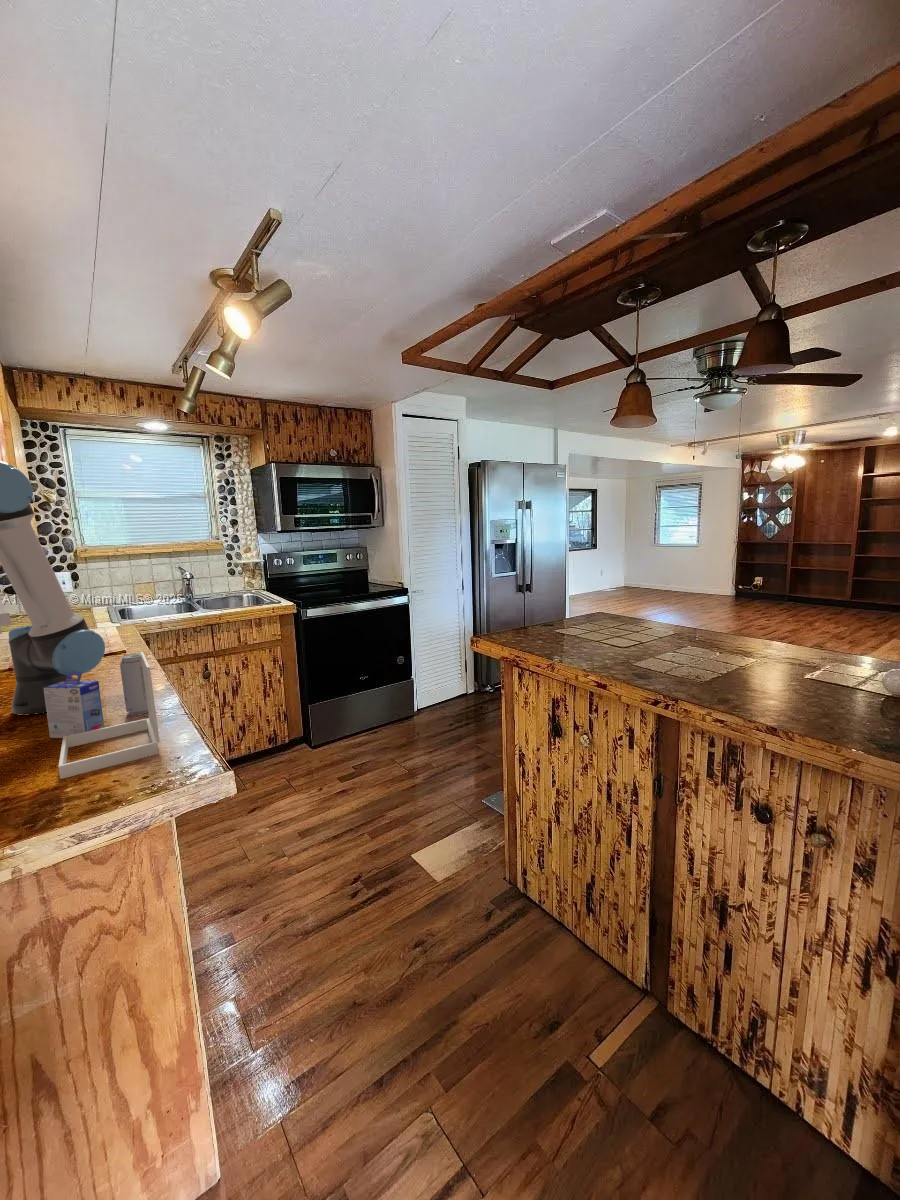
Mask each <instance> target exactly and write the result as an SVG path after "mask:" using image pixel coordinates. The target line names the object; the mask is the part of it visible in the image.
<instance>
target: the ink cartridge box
mask: <svg viewBox="0 0 900 1200" xmlns="http://www.w3.org/2000/svg"><path fill="white" fill-rule="evenodd" d="M70 676H72V677H73V676H77V678H74V679H70V678H69V677H70ZM82 676H83V674H82V672H69V673H68V675H67V677H66V680H65V681H64V682H59V683H56V684H52V685H49V686H47V687H44V696H45V704H46V711H47V713H46V718H47V725H48V731H49V732H48V733H49V738H50V739H63V737H64V736H69V735H73V734H78V733H82V732H87V731H91V730H96V729H101V728H105V722H104V721H105V720H104V714H103V713H104V712H103V705H102V699H101V698H102V697H101V691H100V689H101V688H100V683H99V680H81V679H82Z"/></svg>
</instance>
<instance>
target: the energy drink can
mask: <svg viewBox="0 0 900 1200" xmlns="http://www.w3.org/2000/svg"><path fill="white" fill-rule="evenodd" d="M146 660H147V662H148V663H149V661H148V659H147V658H146ZM119 663H120V664H119V668H120V674H121V683H122V689H123V696H124V697H123V698H124V705H125V712H126V713H128V714H129V715H130V716H140V715H139V714H141V715H145V714H148V713H147V712H148V707H147V699H146V692H145V684H144V677H143V669H142V661H141V654H140V653H131V654H127V655H126V654H125V655H123V656H121V662H119ZM144 713H145V714H144Z"/></svg>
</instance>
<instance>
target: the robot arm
mask: <svg viewBox="0 0 900 1200" xmlns="http://www.w3.org/2000/svg"><path fill="white" fill-rule="evenodd" d="M33 491H34V490H33V485H32V483H31V482H30V480H29V478H28V477H27V476H26V474H24V472H22V471H21V470H20V469H19V468H17V467H16V466H14V465H12V464H10V463H7V462H4V461H0V565H1V567H2V569H3V571H4V573H5V574H6V577H7V579H8V581H9V582H10V585H11V586H12V588H13V591H14V592H15V593H16V596H17V598H18V600H19V602H20V604H21V605H22V608H23V609H24V611H25V613H26V615H27V617H28V619H29V621H30V623H31V625H25V626H19V627H15V628H14V627H13V628H12V629H10V630H9V632H8V644H9V649H10V653H11V660H12V665H13V666H12V667H13V670H14V676H15V683H16V685H15V688H14V693H13V697H12V702H11V711H12V712H13V713H15V714H35V713H43V712H47V711H46V704H45V696H44V687H47V686H49V685H52V684H56V683H59V682H64V681H65V680H66V677H67V675H68V673H69V672H82V675H83V674H87V673H89V672H91V671H92V670H94V669H95V668H97V666H98V665H100V663H101V662H102V660H103V657H104V656H105V652H106V643H105V640H104V638H103V637H102V636H101V635H100V634H99V633H97V632H96V631H94V630H91V629H90V628H89V626H88V624H87V622H86V620H85V618H84V616H83V615H81V614H78V613H75V612H74V611H73V608H71V605H70V603H69V601H68V599H67V597H66V594H65V592H64V591H63V588H62V586H61V584H60V582H59V580H58V577H57V575H56V573H55V571H54V569H53V568H52V566H51V563H50V561H49V559H48V557H47V555H46V552H45V550H44V548H43V546H42V545H41V542H40V540H39V538H38V536H37V534H36V532H35V530H34V528H33V525H32V523H31V522H32V520H33V518H35V517H34V516H35V515H36V513H35V511H34V510H33V507H32V504H31V501H32V499H33V495H34V492H33ZM4 626H5V627H8V626H12V621H11V615H10V612H4V613H0V635H3V631H2V627H4ZM69 678H70V679H75V678H74V677H73V675H72V676H70V677H69ZM13 713H12V714H13ZM43 714H44V713H43Z"/></svg>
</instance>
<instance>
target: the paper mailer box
mask: <svg viewBox="0 0 900 1200" xmlns="http://www.w3.org/2000/svg"><path fill="white" fill-rule="evenodd" d="M139 654H141V661H142V669H143V677H144V684H145V692H146V699H147V707H148V713H147V714H148V718H143V719H139V720H137V719H136V720H134V721H129V722H124V723H119V724H115V725H110V726H106V727H105V726H104V727H105V728H101V729H96V730H91V731H87V732H82V733H78V734H73V735H69V736H64V737H63V738H62V743H61V748H60V754H59V761H58V773H59V779H60V780H62V779H66V778H70V777H75V776H78V775H82V774H85V773H90V772H94V771H98V770H102V769H105V768H109V767H114V766H118V765H120V764H125V763H127V762H129V763H130V762H132V761H136V760H140V758H141V759H145V758H148V757H147V756H149V757H152V756H156V755H159V749H158V743H160V735H159V726H158V719H157V711H156V705H155V697H154V688H153V681H152V675H151V674H152V673H151V672H152V671H151V666H150V664H149V661H148V662H147V660H148V659H147V658H146V655H145V653H144V651H140V652H139ZM146 659H147V660H146ZM147 729H148V730H147ZM138 731H139V732H142V731H148V736H149V740H150V741H151V742H150V743H145V744H141V745H138V746H137V745H136V746H134V747H133V746H132V747H127V748H124V749H121V750H116V751H112V752H108V753H104V754H100V755H97V756H92V757H88V758H84V759H79V760H75V761H72V762H68V761H67V760H68V754H69V748H72V747H77V746H80V745H81V746H82V745H86V744H90V743H94V742H98V741H99V742H100V741H104V740H109V739H112V738H117V737H122V736H126V735H130V734H134V733H138ZM155 754H156V755H155ZM151 755H152V756H151ZM144 757H145V758H144ZM67 762H68V763H67Z"/></svg>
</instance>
